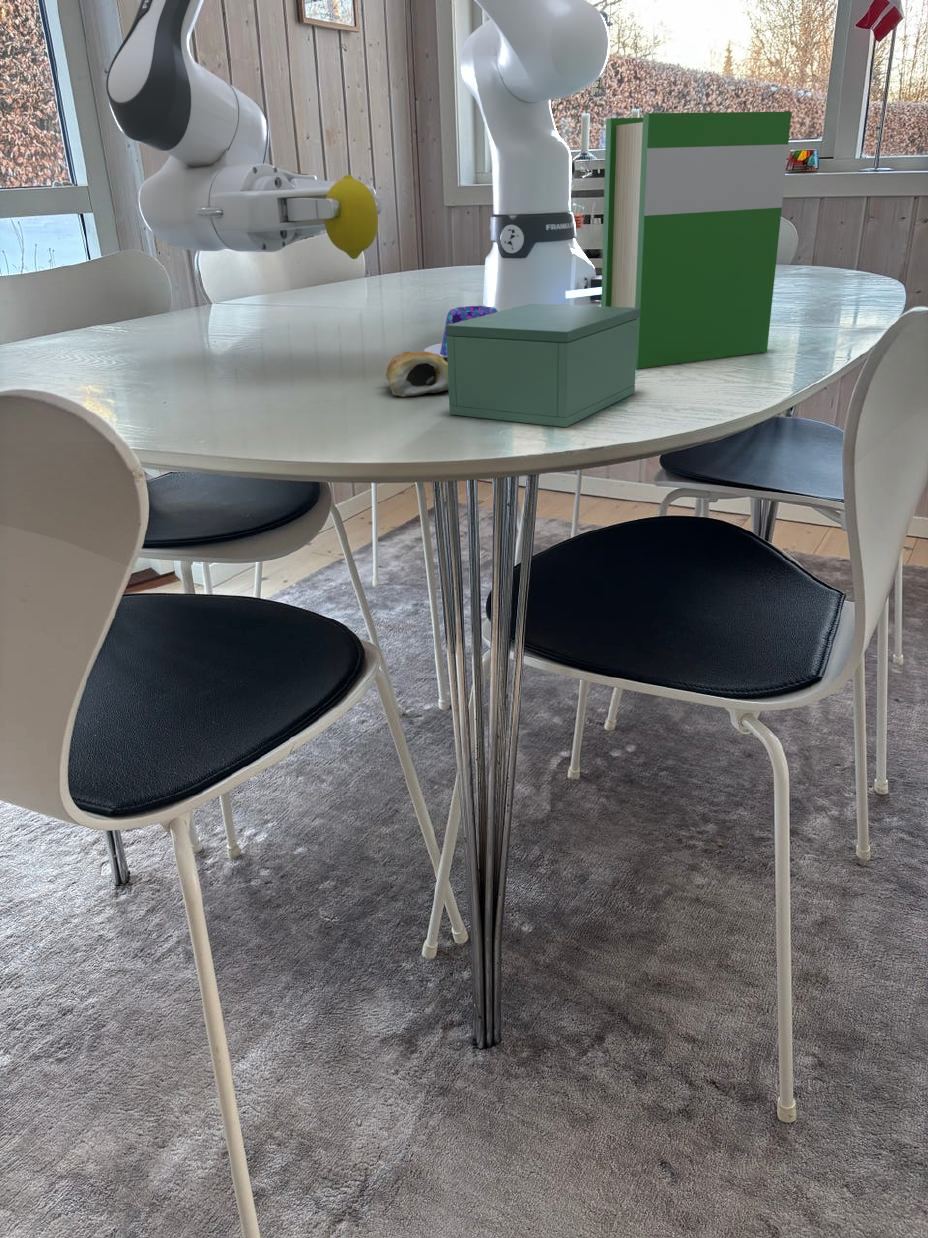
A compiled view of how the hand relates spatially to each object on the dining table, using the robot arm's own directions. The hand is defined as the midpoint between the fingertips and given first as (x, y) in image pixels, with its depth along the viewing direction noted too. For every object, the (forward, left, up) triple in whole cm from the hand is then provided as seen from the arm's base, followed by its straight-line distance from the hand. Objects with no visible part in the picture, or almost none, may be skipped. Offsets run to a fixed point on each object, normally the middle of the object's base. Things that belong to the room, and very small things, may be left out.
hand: (357, 206), depth 94 cm
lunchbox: (+6, +25, -17) cm, 30 cm away
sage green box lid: (+5, +25, -10) cm, 27 cm away
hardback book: (-22, +28, -17) cm, 39 cm away
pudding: (-14, +5, -17) cm, 23 cm away
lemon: (0, -1, -5) cm, 5 cm away
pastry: (+5, +10, -17) cm, 20 cm away
